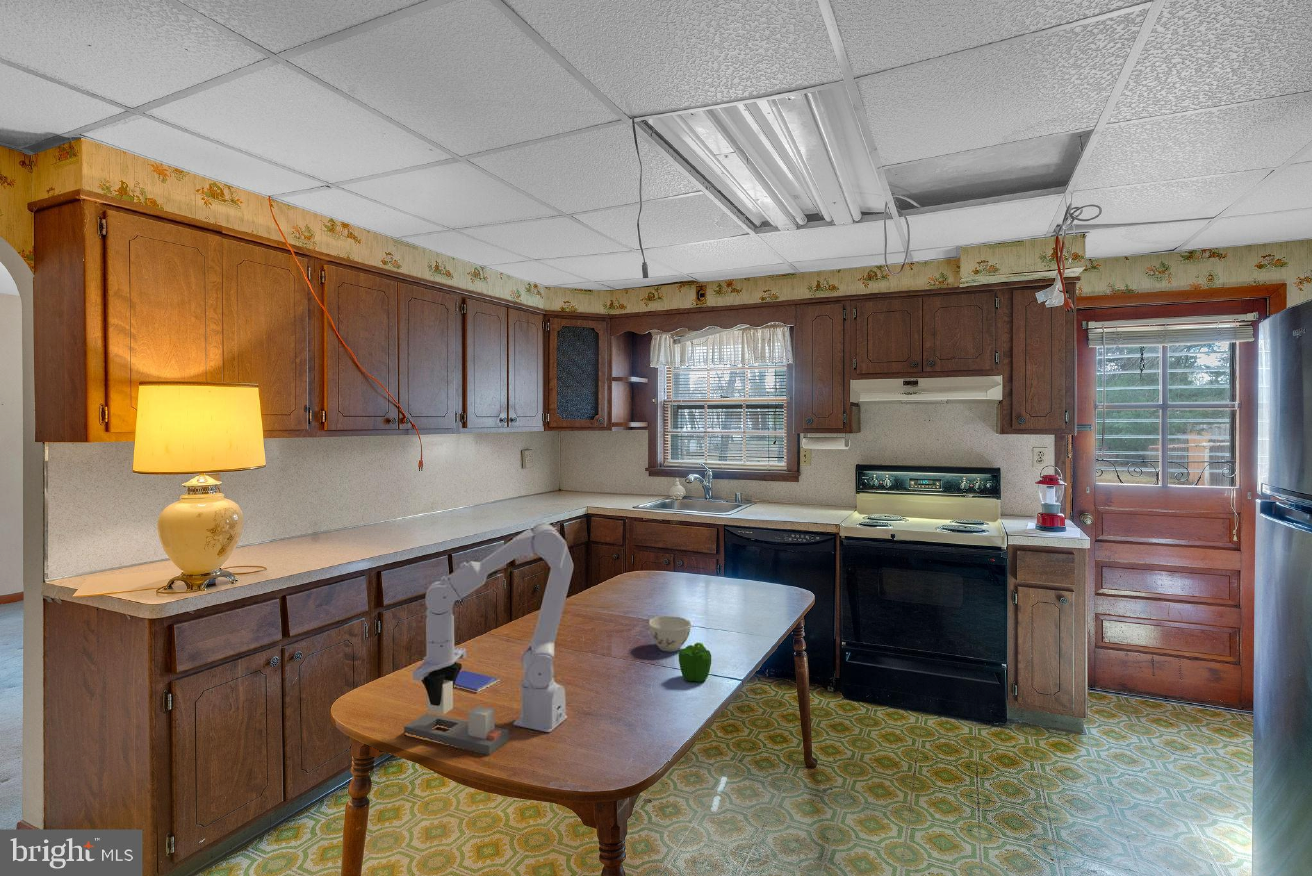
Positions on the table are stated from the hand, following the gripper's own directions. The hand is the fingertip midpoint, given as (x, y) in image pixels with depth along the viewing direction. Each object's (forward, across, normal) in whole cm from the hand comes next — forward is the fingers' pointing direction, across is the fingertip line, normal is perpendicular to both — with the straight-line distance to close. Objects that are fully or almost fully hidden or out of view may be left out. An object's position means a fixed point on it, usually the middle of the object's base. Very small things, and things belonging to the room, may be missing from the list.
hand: (441, 701), depth 142 cm
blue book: (+8, -25, -12) cm, 29 cm away
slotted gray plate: (+7, 0, +4) cm, 8 cm away
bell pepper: (+7, -49, +41) cm, 64 cm away
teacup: (+7, -69, +27) cm, 74 cm away
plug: (+2, 0, 0) cm, 2 cm away
